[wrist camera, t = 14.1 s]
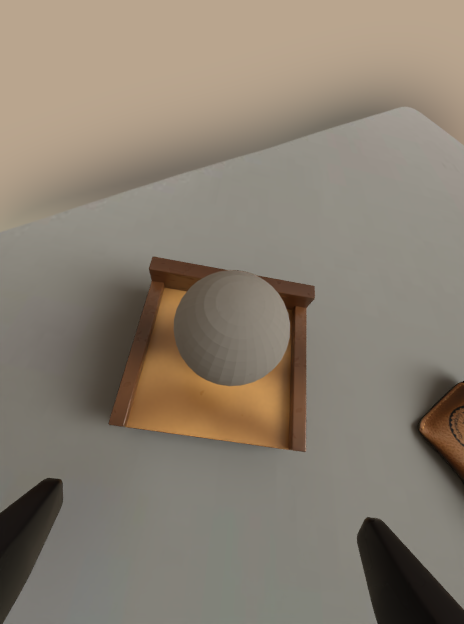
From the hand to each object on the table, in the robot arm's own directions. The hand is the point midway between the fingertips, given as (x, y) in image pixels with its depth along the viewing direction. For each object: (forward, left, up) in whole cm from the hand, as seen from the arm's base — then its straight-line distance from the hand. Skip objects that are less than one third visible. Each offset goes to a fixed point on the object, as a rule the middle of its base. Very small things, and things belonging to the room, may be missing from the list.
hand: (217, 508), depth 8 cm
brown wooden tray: (+4, -7, -13) cm, 16 cm away
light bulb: (+4, -6, -11) cm, 13 cm away
